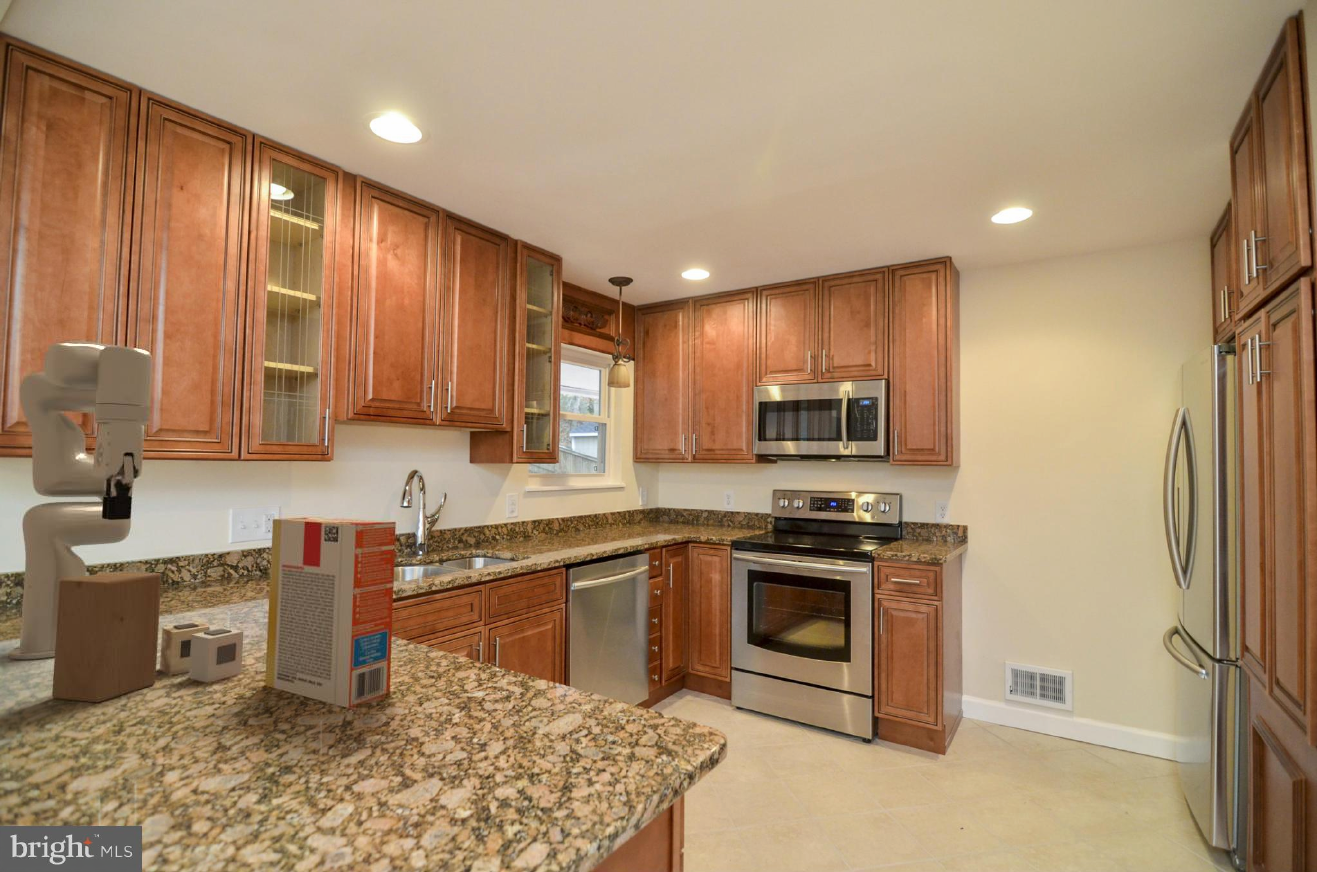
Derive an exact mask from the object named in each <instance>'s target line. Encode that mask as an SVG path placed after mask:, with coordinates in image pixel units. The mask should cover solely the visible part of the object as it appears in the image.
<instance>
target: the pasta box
mask: <svg viewBox="0 0 1317 872" xmlns="http://www.w3.org/2000/svg"><path fill="white" fill-rule="evenodd" d="M396 525H397V522H396V521H389V520H388V521H385V520H373V519H359V518H357V519H356V518H355V519H353V518H339V517H338V518H337V517H324V516H322V517H321V516H309V517H307V516H306V517H288V518H287V517H285V518H273V519H272V530H271V531H272V533H271V534H272V535H271V552H270V553H271V557H270V572H269V573H270V576H269V595H268V596H269V598H268V617H267V634H266V635H267V638H266V639H267V640H266V657H265V659H266V660H265V677H264V681H265V682H264V686H267V687H270V688H271V689H272V688H273V689H277V690H281V691H284V692H289V693H292V694H295V695H298V696H299V695H300V696H303V697H307V698H311V699H314V700H317V701H320V702H321V701H322V702H325V703H328V704H332V705H335V706H336V705H337V706H340V707H344V708H347V709H350V708H353V707H355V706H358V705H361V704H363V703H366V702H369V701H372V700H375V699H377V698H380V697H382V696H383V697H384V696H385V695H389V694H390V693H391V692H390V690H391V668H392V667H391V664H392V640H393V639H392V637H393V635H392V634H393V611H394V586H395V585H394V583H395V582H394V581H395V579H394V578H395V554H396V553H395V552H396V551H395V550H396V528H397V527H396Z"/></svg>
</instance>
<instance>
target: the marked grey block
mask: <svg viewBox="0 0 1317 872" xmlns="http://www.w3.org/2000/svg"><path fill="white" fill-rule="evenodd" d="M243 644H244V631H243V630H239V629H233V628H228V627H221V628H218V629H211V630H209V631H207V632H202V633H197V634H192V635H191V649H190V668H189V671H188V673H189V674H188V678H189V679H192V680H196V681H200V682H203V683H207V684H208V683H211V682H215V681H220V680H223V679H227V678H230V677H234V676H238V675H241V674H242V670H243V669H242V668H243V649H244V645H243Z"/></svg>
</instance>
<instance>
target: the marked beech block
mask: <svg viewBox="0 0 1317 872" xmlns="http://www.w3.org/2000/svg"><path fill="white" fill-rule="evenodd" d="M207 631H210V626H209V625H207V624H205V623H201V622H199V621H198V622H197V621H196V622H190V623H184V624H177V625H173V626H166V627H165V626H164V627H161V643H160V644H161V645H160V660H159V670H161V671H162V672H164V673H166V674H167V675H169V674H170V676H173V674H174V675H177V674H182V673H187V672H188V673H189V668H190V649H191V635H192V634H197V633H202V632H207Z"/></svg>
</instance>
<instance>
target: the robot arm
mask: <svg viewBox="0 0 1317 872" xmlns="http://www.w3.org/2000/svg"><path fill="white" fill-rule="evenodd" d="M153 363H154V360H153V356H152V354H151V353H150V352H149V351H148V350H144V349H142V348H136V347H130V346H124V345H123V346H122V345H115V344H107V343H101V342H100V343H99V342H92V341H85V340H70V341H69V340H68V341H65V342H63V343H62V342H61V343H60V342H58V343H57V342H56V343H53V344H51V345H50V346H49V348H48V349H47V351H46V353H45V354H44V358H43V371H38V372H32V373H29V374H27V375H25V376H24V377H23V379H22V380H21V381H20V385H19V392H18V394H19V402H20V408H21V411H22V414H23V416H24V419H25V421H26V423H27V425H28V427H29V429H30V432H31V436H32V437H31V438H32V465H31V466H32V470H31V471H32V485H33V488H34V491H35V492H36V494H38V495H40V496H42V497H47V498H50V497H51V498H99V499H100V501H56V502H55V501H53V502H45V503H40V504H37V505H35V506H32V507H30V508H28V510H26V512H25V513H24V514H23V517H22V523H21V524H22V534H23V535H22V536H23V540H24V541H23V542H24V551H25V564H24V565H25V567H24V568H25V569H24V580H23V581H24V583H23V585H24V586H23V598H22V599H23V600H22V612H21V625H20V639H19V646H18V647H14V648H12V649H10V650H9V651H8V658H10V659H12V660H36V659H37V660H39V659H46V658H55V645H56V631H57V616H58V601H59V586H60V581H61V580H63V579H68V578H75V577H82V576H87V566H86V565H87V564H85V561H84V560H83V559H82V558H81V557H80V556H79V555H78V554H76V552H74V551H73V549H72V548H74V547H80V546H90V545H91V546H93V545H106V544H107V545H109V544H116V543H120V542H122V541H124V540H125V539H127V538H128V536H129V534H130V532H131V527H132V525H131V524H132V505H133V504H132V503H133V501H132V500H133V488H134V487H133V486H134V482H135V479H138V478H139V477H141V475H142V470H143V460H144V459H143V458H144V426H145V427H146V426H150V417H151V416H150V413H151V399H152V398H151V397H152V384H153V382H152V381H153V365H154V364H153ZM64 412H71V413H81V414H82V413H85V414H94V423H95V424H99V425H98V431H97V433H96V434H97V435H96V441H95V447H94V448H95V449H94V454H88V453H87V451H86V450H87V449H86V433H84V430H83V429H82V428H81V427H80V425H79V424H77V423H76V422H75V421H74V420H73V419H72V418H70V417H69V416H68V415H67V414H65V413H64Z"/></svg>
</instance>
